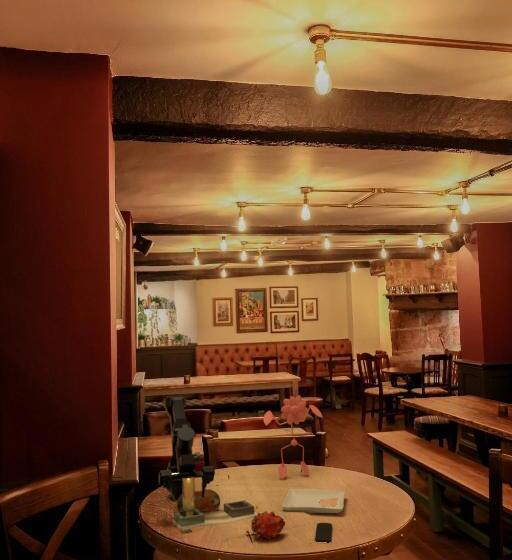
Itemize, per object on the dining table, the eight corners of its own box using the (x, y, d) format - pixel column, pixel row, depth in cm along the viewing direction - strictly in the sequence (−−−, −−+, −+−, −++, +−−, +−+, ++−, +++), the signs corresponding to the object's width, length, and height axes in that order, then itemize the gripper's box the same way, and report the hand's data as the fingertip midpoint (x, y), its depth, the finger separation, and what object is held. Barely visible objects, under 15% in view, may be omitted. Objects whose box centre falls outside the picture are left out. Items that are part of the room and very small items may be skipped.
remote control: (331, 546, 170) (332, 527, 185) (331, 540, 170) (332, 521, 185) (314, 546, 171) (317, 526, 186) (314, 540, 171) (316, 521, 186)
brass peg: (184, 519, 192) (183, 476, 193) (196, 519, 191) (195, 476, 193) (181, 523, 188) (181, 479, 189) (193, 523, 187) (192, 479, 189)
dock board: (171, 522, 192) (171, 511, 192) (247, 509, 204) (247, 498, 204) (182, 533, 181) (182, 521, 182) (262, 518, 193) (261, 508, 194)
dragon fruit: (247, 545, 174) (282, 544, 179) (258, 535, 169) (294, 534, 173) (243, 517, 180) (277, 517, 184) (254, 506, 174) (289, 506, 179)
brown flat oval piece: (177, 518, 195) (177, 493, 196) (176, 516, 198) (176, 491, 199) (220, 514, 199) (220, 489, 200) (218, 511, 202) (218, 486, 203)
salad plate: (343, 518, 193) (343, 507, 193) (281, 515, 197) (281, 505, 197) (346, 499, 214) (345, 489, 214) (289, 497, 218) (289, 488, 218)
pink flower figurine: (261, 477, 246) (260, 395, 248) (317, 472, 253) (315, 392, 255) (273, 487, 231) (272, 400, 233) (331, 481, 239) (330, 396, 241)
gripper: (158, 446, 193) (162, 488, 182) (213, 442, 198) (220, 483, 186) (157, 464, 200) (160, 506, 189) (210, 460, 205) (216, 501, 193)
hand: (189, 498), depth 189 cm, fingers open, 9 cm apart
